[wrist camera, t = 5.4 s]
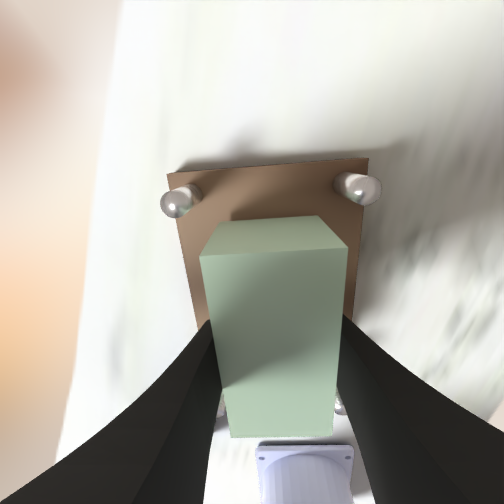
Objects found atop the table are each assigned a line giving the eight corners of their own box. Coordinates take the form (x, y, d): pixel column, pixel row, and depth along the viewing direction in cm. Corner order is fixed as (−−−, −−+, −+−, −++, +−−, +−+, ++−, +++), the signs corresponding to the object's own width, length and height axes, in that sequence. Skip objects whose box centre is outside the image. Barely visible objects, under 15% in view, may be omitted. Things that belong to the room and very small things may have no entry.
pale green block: (312, 362, 14) (331, 436, 10) (238, 364, 14) (231, 437, 11) (317, 215, 11) (348, 247, 7) (219, 221, 11) (199, 256, 7)
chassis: (340, 368, 16) (360, 420, 13) (211, 371, 17) (200, 423, 13) (359, 157, 11) (400, 158, 8) (173, 172, 12) (140, 178, 8)
